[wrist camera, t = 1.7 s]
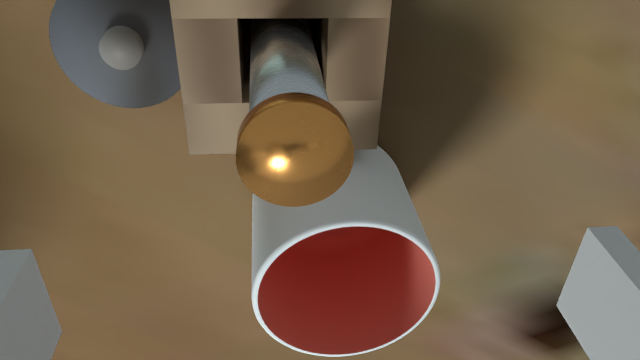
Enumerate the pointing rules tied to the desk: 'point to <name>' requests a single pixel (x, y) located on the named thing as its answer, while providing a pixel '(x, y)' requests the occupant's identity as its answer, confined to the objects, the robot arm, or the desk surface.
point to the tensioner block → (217, 58)
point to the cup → (344, 264)
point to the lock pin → (290, 120)
